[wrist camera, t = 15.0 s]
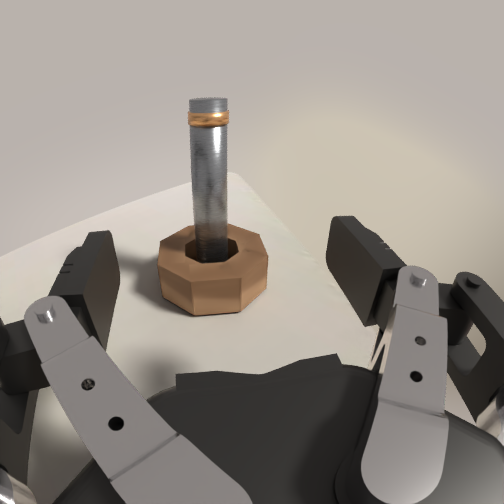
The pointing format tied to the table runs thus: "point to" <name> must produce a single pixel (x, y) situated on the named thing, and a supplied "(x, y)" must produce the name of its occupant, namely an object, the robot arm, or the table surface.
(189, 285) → the bead
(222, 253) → the banded metal pin
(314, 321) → the table surface
